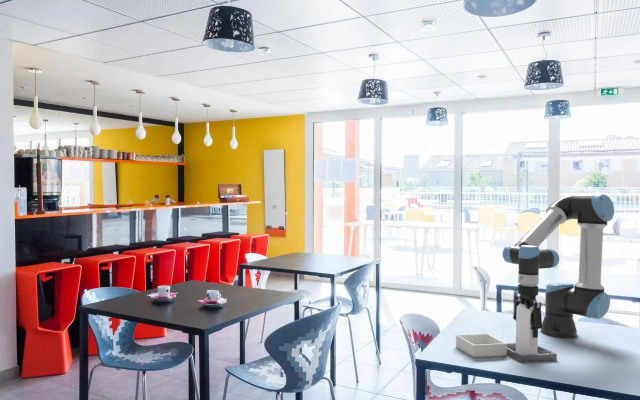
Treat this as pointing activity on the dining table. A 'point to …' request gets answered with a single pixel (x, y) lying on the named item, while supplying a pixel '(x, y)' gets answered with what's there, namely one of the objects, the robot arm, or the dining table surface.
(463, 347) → the bin
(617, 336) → the dining table surface
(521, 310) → the milk
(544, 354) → the collar
